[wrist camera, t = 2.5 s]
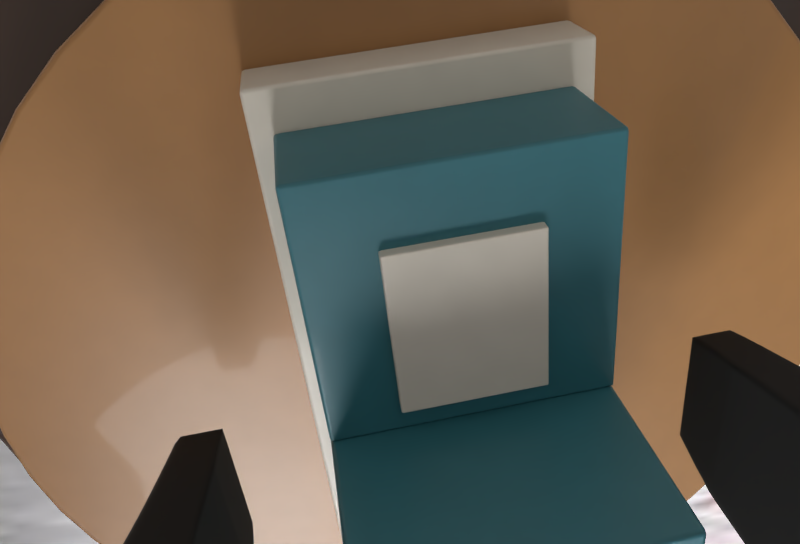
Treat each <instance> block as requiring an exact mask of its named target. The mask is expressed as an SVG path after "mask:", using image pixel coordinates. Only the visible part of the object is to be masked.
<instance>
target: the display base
mask: <svg viewBox="0 0 800 544" xmlns="http://www.w3.org/2000/svg"><path fill="white" fill-rule="evenodd" d="M103 1H104V0H0V142H1V140H2V137H3V135H4V133H5V131H6V129H7V127H8V125H9V122H10V120H11V118H12V116H13V114H14V112H15V109H16V108H17V107H18V105H19V104H20V102H21V101H22V99H23V98H24V96H25V95H26V93H27V92H28V90H29V89H30V88H31V86H32V85H33V83H34V82H35V80H36V79H37V77H38V76H39V74H40V73H41V71H42V70H43V69H44V67H45V66H46V64H47V63H48V61H49V60H50V58H51V57H52V55H53V54H54V52H55V51H56V50H57V49H58V48H59V47H60V46H61V45H62V44H63V43H64V42H65V41H66V40H67V39H68V38H69V36H70V35H71V34H72V33H73V32H74V31H75V30H76V29H77V28H78V27H79V26H80V25H81V24H82V23H83V22H84V21H85V20H86V19H87V18H88V16H89V15H90V14H91V13H92V12H93V11H94V10H95V9H96V8H97V7H98V6H99V5H100V4H101V3H102V2H103ZM771 1H772V3H773V4H774V5H775V7H776V8H777V10H778V11H779V12H780V14H781V15H782V16H783V18H784V19H785V21H786V22H787V23H788V25H789V26H790V28H791V29H792V30H793V32H794V33H795V35H796V36H797V37H798V39H799V40H800V0H771ZM0 439H1V440H2V441H3V442H4V443H5V444H6V446H7V447H8V448H9V449H10V450H11V451H12V452H13V454H14V455H15V456H16V457H17V455H16V454H15V452H14V451H13V449H12V448H11V446H10V445H9V443H8V442H7V440H6V438H5V437H4V435H3V433H2V431H1V428H0ZM17 458H18V457H17Z"/></svg>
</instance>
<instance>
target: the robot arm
mask: <svg viewBox="0 0 800 544" xmlns="http://www.w3.org/2000/svg"><path fill="white" fill-rule="evenodd" d="M680 437H681V438H682V440H683V442H684V444H685V446H686V448H687V450H688V452H689V454H690V456H691V458H692V460H693V462H694V464H695V466H696V468H697V470H698V472H699V474H700V475H701V477H702V479H703V481H704V483H705V485H706V486H707V488H708V490H709V492H710V494H711V495H712V497H713V498H714V500H715V501H716V502H717V504H718V505H719V507H720V508H721V510H722V511H723V513H724V514H725V516H726V517H727V519H728V520H729V521H730V523H731V524H732V526H733V527H734V529H735V530H736V531H737V533H738V534H739V536H740V537H741V539H742V540H743V542H744V543H745V544H800V366H798V365H796V364H794V363H792V362H791V361H789V360H787V359H785V358H783V357H781V356H780V355H778V354H776V353H774V352H772V351H770V350H768V349H767V348H765V347H763V346H761V345H759V344H757V343H755V342H753V341H751V340H749V339H747V338H746V337H744V336H741V335H739V334H737V333H735V332H733V331H731V330H728V331H722V332H717V333H712V334H707V335H702V336H697V337H692V345H691V353H690V360H689V368H688V375H687V383H686V391H685V398H684V406H683V414H682V421H681V429H680ZM123 544H254V534H253V522H252V519H251V515H250V512H249V509H248V506H247V503H246V500H245V497H244V494H243V491H242V488H241V484H240V481H239V478H238V475H237V472H236V469H235V466H234V463H233V460H232V457H231V454H230V450H229V447H228V444H227V441H226V438H225V435H224V432H223V429H218V430H212V431H207V432H202V433H197V434H192V435H187V436H182V437H180V438H179V439H178V440H177V442H176V443H175V444H174V446H173V448H172V451H171V453H170V455H169V457H168V459H167V461H166V463H165V465H164V467H163V469H162V471H161V473H160V475H159V477H158V479H157V481H156V483H155V485H154V487H153V489H152V491H151V493H150V495H149V497H148V499H147V501H146V503H145V505H144V507H143V508H142V510H141V512H140V514H139V516H138V518H137V520H136V522H135V523H134V525H133V527H132V529H131V531H130V532H129V534H128V536H127V538H126V540H125V541H124V543H123Z"/></svg>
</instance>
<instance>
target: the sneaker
mask: <svg viewBox="0 0 800 544" xmlns="http://www.w3.org/2000/svg"><path fill="white" fill-rule="evenodd" d="M728 330H731V331H733V332H735V333H737V334H739V335H741V336H744V337H746V338H747V339H749V340H751V341H753V342H755V343H757V344H759V345H761V346H763V347H765V348H767V349H768V350H770V351H772V352H774V353H776V354H778V355H780V356H781V357H783V358H785V359H787V360H789V361H791V362H792V363H794V364H796V365H798V366H799V365H800V40H799V39H798V37H797V36H796V35H795V33H794V32H793V30H792V29H791V28H790V26H789V25H788V23H787V22H786V21H785V19H784V18H783V16H782V15H781V14H780V12H779V11H778V10H777V8H776V7H775V5H774V4H773V3H772V1H771V0H104V1H103V2H102V3H101V4H100V5H99V6H98V7H97V8H96V9H95V10H94V11H93V12H92V13H91V14H90V15H89V16H88V18H87V19H86V20H85V21H84V22H83V23H82V24H81V25H80V26H79V27H78V28H77V29H76V30H75V31H74V32H73V33H72V34H71V35H70V36H69V38H68V39H67V40H66V41H65V42H64V43H63V44H62V45H61V46H60V47H59V48H58V49H57V50H56V51H55V52H54V54H53V55H52V57H51V58H50V60H49V61H48V63H47V64H46V66H45V67H44V69H43V70H42V71H41V73H40V74H39V76H38V77H37V79H36V80H35V82H34V83H33V85H32V86H31V88H30V89H29V90H28V92H27V93H26V95H25V96H24V98H23V99H22V101H21V102H20V104H19V105H18V107H17V108H16V109H15V112H14V114H13V116H12V118H11V120H10V122H9V125H8V127H7V129H6V131H5V133H4V135H3V137H2V140H1V142H0V428H1V431H2V433H3V435H4V437H5V438H6V440H7V442H8V443H9V445H10V446H11V448H12V449H13V451H14V452H15V454H16V455H17V457H18V459H19V460H20V462H21V463H22V465H23V466H24V468H25V469H26V471H27V472H28V474H29V476H30V477H31V478H32V479H33V480H34V481H35V483H36V484H37V485H38V486H39V487H40V488H41V489H42V490H43V492H44V493H45V494H46V495H47V496H48V497H49V498H50V500H51V501H52V502H53V503H54V504H55V505H56V506H57V507H58V509H59V510H60V511H61V512H62V513H64V514H65V515H66V516H67V517H68V518H69V519H71V520H72V521H73V522H74V523H75V524H76V525H77V526H79V527H80V528H81V529H82V530H83V531H84V532H86V533H87V534H88V535H89V536H90V537H91V538H93V539H94V540H95V541H96V542H98V543H100V544H123V543H124V541H125V540H126V538H127V536H128V534H129V532H130V531H131V529H132V527H133V525H134V523H135V522H136V520H137V518H138V516H139V514H140V512H141V510H142V508H143V507H144V505H145V503H146V501H147V499H148V497H149V495H150V493H151V491H152V489H153V487H154V485H155V483H156V481H157V479H158V477H159V475H160V473H161V471H162V469H163V467H164V465H165V463H166V461H167V459H168V457H169V455H170V453H171V451H172V448H173V446H174V444H175V443H176V442H177V440H178V439H179V438H180V437H182V436H187V435H192V434H197V433H202V432H207V431H212V430H218V429H223V432H224V435H225V438H226V441H227V444H228V447H229V450H230V454H231V457H232V460H233V463H234V466H235V469H236V472H237V475H238V478H239V481H240V484H241V488H242V491H243V494H244V497H245V500H246V503H247V506H248V509H249V512H250V515H251V519H252V522H253V534H254V544H705V538H706V532H705V529H704V527H703V526H702V524H701V523H700V521H699V520H698V518H697V517H696V515H695V514H694V512H693V510H692V509H691V507H690V506H689V504H688V503H687V500H688V499H689V498H691V497H692V496H693V495H694V494H695V493H696V492H697V491H698V490H700V489H701V488H702V487H703V486H704V485H705V483H704V481H703V479H702V477H701V475H700V474H699V472H698V470H697V468H696V466H695V464H694V462H693V460H692V458H691V456H690V454H689V452H688V450H687V448H686V446H685V444H684V442H683V440H682V438H681V437H680V429H681V421H682V414H683V406H684V398H685V391H686V383H687V375H688V368H689V360H690V353H691V345H692V337H697V336H702V335H707V334H712V333H717V332H722V331H728Z"/></svg>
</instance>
